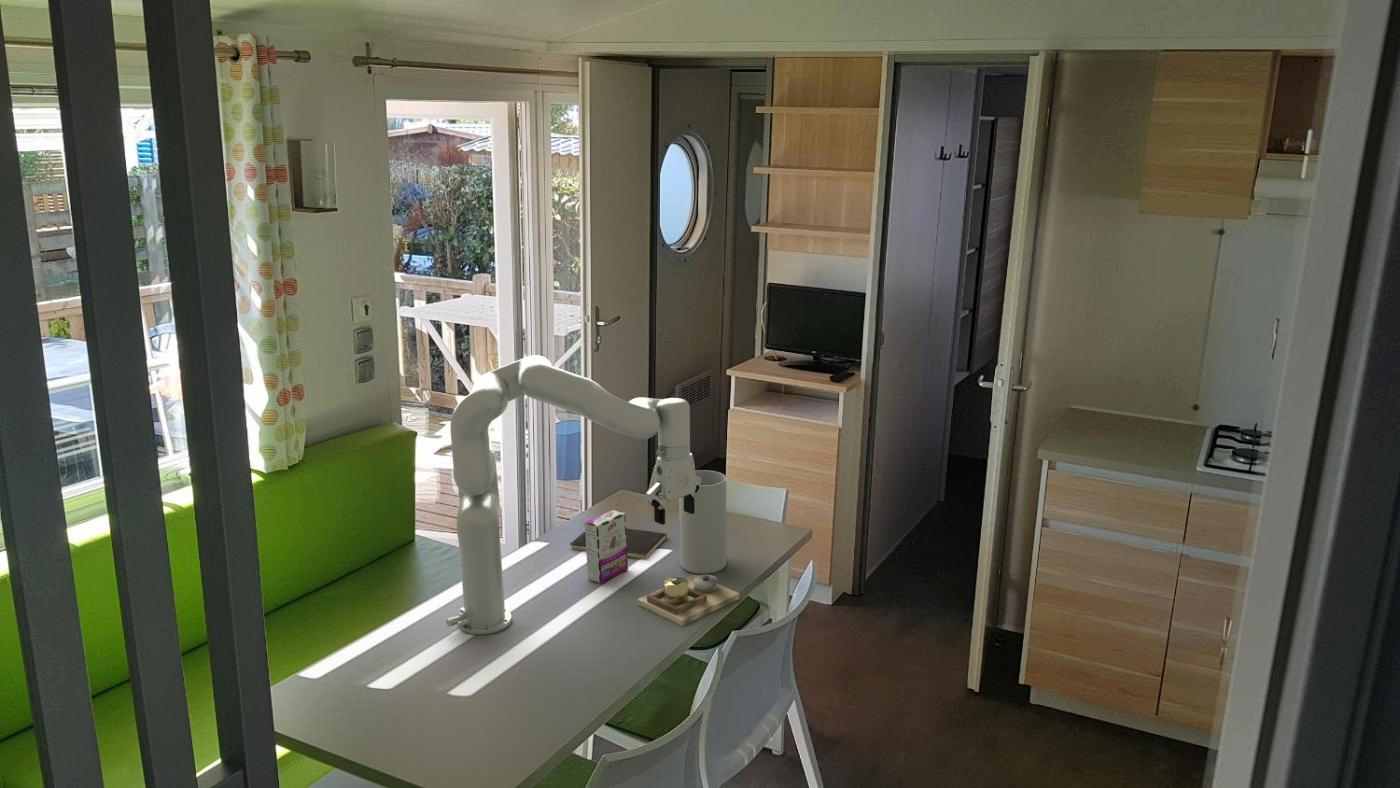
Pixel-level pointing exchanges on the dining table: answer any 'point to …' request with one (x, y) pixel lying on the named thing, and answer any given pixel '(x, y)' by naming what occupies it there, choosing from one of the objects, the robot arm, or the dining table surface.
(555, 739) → the dining table surface
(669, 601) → the gold round vessel
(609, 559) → the candy bar box
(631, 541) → the hardcover book
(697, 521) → the cylinder vase
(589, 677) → the dining table surface
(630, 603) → the dining table surface
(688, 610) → the carrier
